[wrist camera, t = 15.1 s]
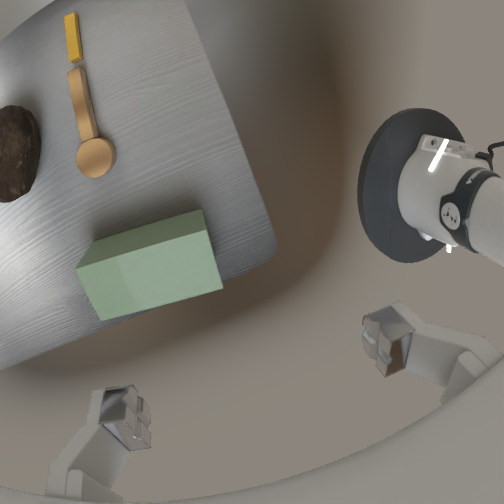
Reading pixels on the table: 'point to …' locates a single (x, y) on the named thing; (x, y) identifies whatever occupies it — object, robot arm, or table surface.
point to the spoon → (89, 130)
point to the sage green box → (150, 266)
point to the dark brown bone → (17, 152)
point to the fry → (73, 38)
